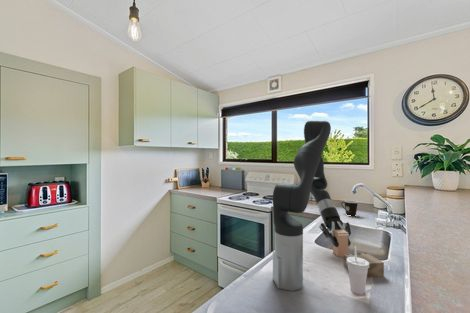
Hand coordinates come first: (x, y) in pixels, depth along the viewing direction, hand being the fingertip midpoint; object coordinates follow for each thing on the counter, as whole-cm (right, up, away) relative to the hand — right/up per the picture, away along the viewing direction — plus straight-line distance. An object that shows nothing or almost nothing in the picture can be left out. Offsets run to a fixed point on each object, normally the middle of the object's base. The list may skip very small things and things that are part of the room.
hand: (343, 245), depth 94 cm
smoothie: (-7, -5, -24) cm, 26 cm away
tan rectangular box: (0, -4, +2) cm, 5 cm away
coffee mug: (+38, -5, +68) cm, 79 cm away
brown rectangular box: (+1, -5, -12) cm, 13 cm away
